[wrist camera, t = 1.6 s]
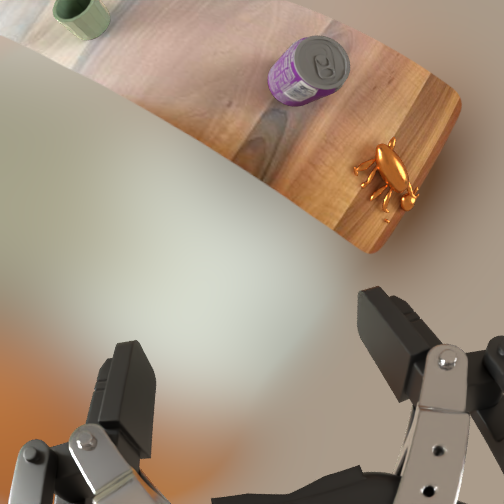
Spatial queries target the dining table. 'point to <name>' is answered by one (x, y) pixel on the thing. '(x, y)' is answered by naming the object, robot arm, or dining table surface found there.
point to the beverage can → (309, 71)
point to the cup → (82, 17)
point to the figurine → (390, 176)
